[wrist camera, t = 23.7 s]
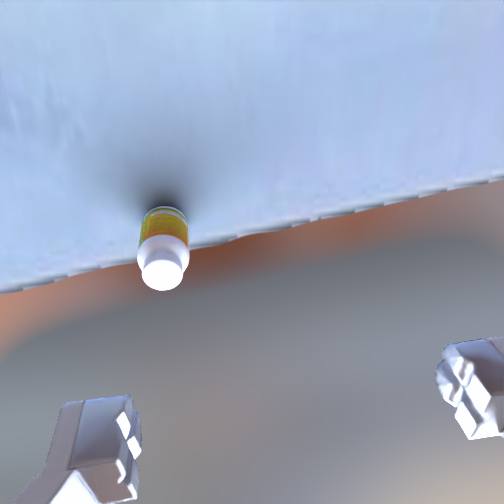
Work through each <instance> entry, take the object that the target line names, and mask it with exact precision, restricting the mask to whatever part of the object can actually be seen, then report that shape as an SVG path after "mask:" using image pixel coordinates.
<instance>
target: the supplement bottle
mask: <svg viewBox="0 0 504 504" xmlns="http://www.w3.org/2000/svg"><path fill="white" fill-rule="evenodd" d="M137 260H138V264H139V266H140V268H141V269H142V277H143V280H144V281H145V283H146V284H147V285H148V286H150V287H152V288H154V289H158V290H168V289H171V288H174V287H175V286H177V285H178V284H179V283H180V281H181V280H182V277H183V271H184V270H185V269H186V267H187V265H188V262H189V227H188V221H187V219H186V217H185V216H184V214H183V213H182V212H181V211H179V210H178V209H176V208H173V207H169V206H160V207H156V208H154V209H152V210H150V211H149V212H148V213H147V214H146V215H145V217H144V219H143V222H142V228H141V235H140V241H139V247H138V254H137Z"/></svg>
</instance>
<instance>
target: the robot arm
mask: <svg viewBox="0 0 504 504" xmlns="http://www.w3.org/2000/svg"><path fill="white" fill-rule="evenodd" d="M442 355H443V357H444V358H445V359H444V360H442V361H441V362H440V363H439V364H438V365H437V368H436V372H435V376H436V383H437V386H438V388H439V391H440V393H441V394H442V396H443V398H444V399H445V400H446V401H447V402H449V403H450V404H452V405H453V406H455V414H454V415H455V417H456V419H457V421H458V422H459V424H460V425H461V427H462V429H463V430H464V432H465V433H466V435H467V437H468V438H469V439H476V438H483V437H490V436H496V435H502V436H501V437H502V438H503V439H504V336H497V337H492V338H486V339H476V340H470V341H464V342H459V343H453V344H448V345H446V346H445V347H444V348H443V351H442ZM141 441H142V435H141V424H140V418H139V416H138V413H137V412H135V411H134V410H133V400H132V398H131V396H130V394H127V395H121V396H113V397H105V398H99V399H92V400H83V401H76V402H70V403H65V404H64V405H63V407H62V408H61V410H60V412H59V416H58V420H57V423H56V427H55V430H54V434H53V437H52V441H51V445H50V448H49V452H48V456H47V459H46V463H45V467H44V470H43V474H41V475H36V476H35V477H34V478H33V479H32V480H31V481H30V483H29V484H28V485H27V486H26V487H25V489H24V490H23V491H22V492H21V493H20V494H19V496H18V497H17V498H16V499H15V500H14V502H13V503H12V504H113V503H118V502H123V501H128V500H132V499H137V489H138V478H139V468H138V465H137V463H136V461H135V458H136V457H137V456H138V454H139V453H140V451H141Z"/></svg>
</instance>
